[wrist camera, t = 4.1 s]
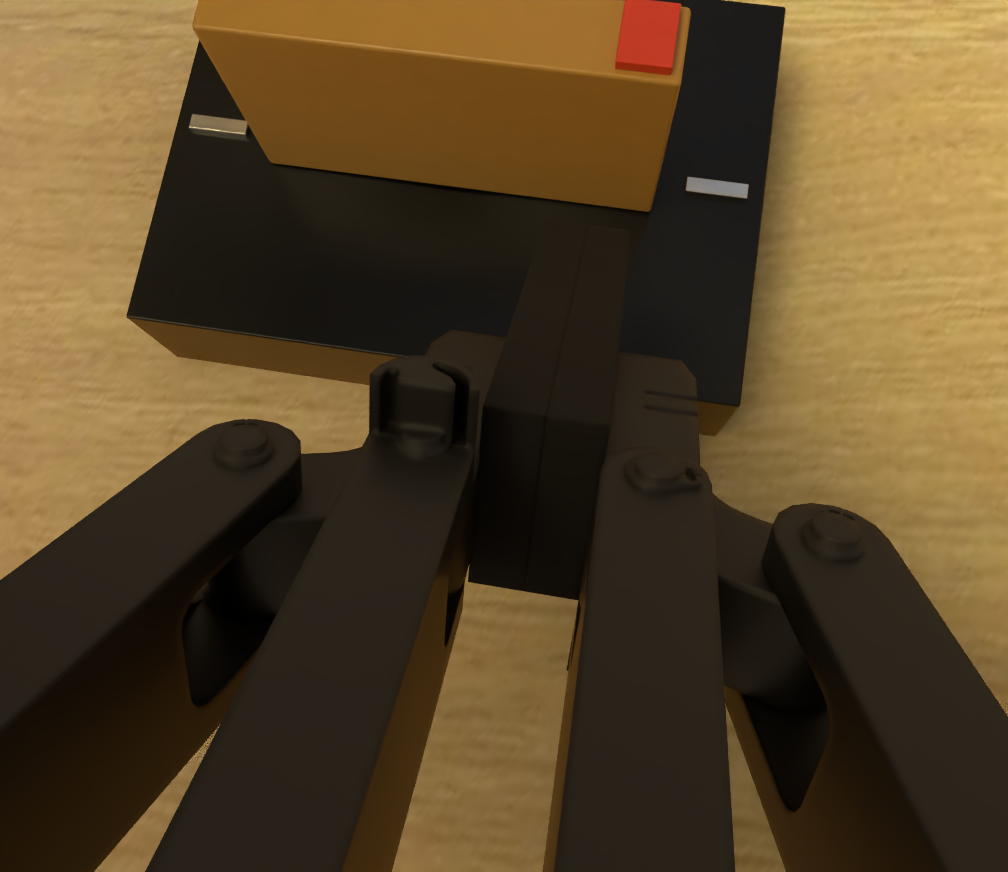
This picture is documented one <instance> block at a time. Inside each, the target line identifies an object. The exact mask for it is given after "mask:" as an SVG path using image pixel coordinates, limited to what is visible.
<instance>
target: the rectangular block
mask: <svg viewBox="0 0 1008 872" xmlns="http://www.w3.org/2000/svg"><path fill="white" fill-rule="evenodd" d="M690 16H691V11H690V9H689V8H687V7H681V4H680V3H671V2H662V1H653V0H199V2H198V5H197V9H196V13H195V17H194V20H193V25H192V26H193V30H194V31H195V33H196V35H197V36H198V38H199V40H200V42H201V43H202V45H203V47H204V49H205V50H206V52H207V54H208V56H209V57H210V59H211V61H212V62H213V64H214V66H215V68H216V69H217V71H218V73H219V75H220V76H221V78H222V80H223V82H224V83H225V85H226V87H227V88H228V90H229V92H230V94H231V95H232V97H233V99H234V101H235V102H236V104H237V106H238V108H239V109H240V111H241V113H242V114H243V116H244V118H245V120H246V121H247V123H248V125H249V127H250V128H251V130H252V132H253V134H254V135H255V137H256V139H257V140H258V142H259V144H260V146H261V147H262V149H263V151H264V153H265V154H266V156H267V158H268V160H269V161H270V162H271V163H276V164H284V165H291V166H299V167H307V168H314V169H322V170H330V171H337V172H345V173H353V174H361V175H368V176H376V177H384V178H391V179H399V180H407V181H414V182H422V183H430V184H438V185H445V186H453V187H461V188H468V189H476V190H484V191H491V192H499V193H507V194H515V195H522V196H530V197H538V198H545V199H553V200H561V201H568V202H576V203H584V204H592V205H599V206H607V207H615V208H622V209H630V210H638V211H645V212H649V211H650V210H651V209H652V204H653V200H654V196H655V192H656V188H657V183H658V179H659V175H660V171H661V166H662V162H663V158H664V154H665V149H666V145H667V141H668V137H669V133H670V128H671V124H672V120H673V116H674V111H675V107H676V103H677V99H678V94H679V90H680V86H681V81H682V73H683V66H684V59H685V52H686V45H687V37H688V30H689V23H690Z"/></svg>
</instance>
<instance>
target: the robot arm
mask: <svg viewBox="0 0 1008 872" xmlns="http://www.w3.org/2000/svg"><path fill="white" fill-rule="evenodd" d="M630 234H631V230H624V229H617V228H609V227H602V226H594V225H587V224H579V223H572V222H564V221H557V220H549V219H546V220H545V223H544V226H543V229H542V232H541V235H540V238H539V241H538V244H537V247H536V250H535V253H534V256H533V259H532V262H531V265H530V268H529V271H528V274H527V277H526V280H525V283H524V286H523V288H522V291H521V294H520V297H519V300H518V303H517V306H516V309H515V312H514V315H513V318H512V321H511V324H510V327H509V330H508V333H507V336H506V337H500V336H493V335H486V334H479V333H472V332H465V331H458V330H450V331H449V332H447V333H446V334H444V335H442V336H441V337H439V338H438V339H436V340H435V341H433V342H431V344H430V346H429V348H428V350H427V352H426V354H425V356H417V355H415V356H408V357H401V358H395V359H392V360H390V361H387V362H385V363H382V364H380V365H379V366H378V367H377V368H376V369H374V370H373V371H372V372H371V373H370V406H369V435H368V436H367V438H366V440H365V442H364V444H363V446H362V447H360V448H356V449H353V450H349V451H342V452H332V453H311V454H301V446H300V440H299V439H298V438H297V436H296V435H295V434H294V433H293V431H292V430H290V429H288V428H286V427H284V426H281V425H279V424H277V423H274V422H268V421H263V420H257V419H248V420H245V419H241V420H233V421H229V422H225V423H221V424H217V425H213V426H211V427H209V428H208V429H206V430H204V431H202V432H200V433H198V434H196V435H195V436H194V437H192V438H191V439H190V440H188V441H187V442H186V443H184V444H183V445H182V446H180V447H179V448H178V449H176V450H175V451H174V452H172V453H171V454H170V455H168V456H167V457H166V458H164V459H163V460H161V461H160V462H159V463H157V464H156V465H155V466H153V467H152V468H151V469H149V470H148V471H147V472H145V473H144V474H143V475H141V476H140V477H139V478H137V479H136V480H135V481H133V482H132V483H131V484H129V485H128V486H127V487H125V488H124V489H122V490H121V491H120V492H118V493H117V494H116V495H114V496H113V497H112V498H110V499H109V500H108V501H106V502H105V503H104V504H102V505H101V506H100V507H98V508H97V509H96V510H94V511H93V512H92V513H90V514H89V515H88V516H86V517H85V518H84V519H82V520H81V521H79V522H78V523H77V524H75V525H74V526H73V527H71V528H70V529H69V530H67V531H66V532H65V533H63V534H62V535H61V536H59V537H58V538H57V539H55V540H54V541H53V542H51V543H50V544H49V545H47V546H46V547H45V548H43V549H42V550H40V551H39V552H38V553H36V554H35V555H34V556H32V557H31V558H30V559H28V560H27V561H26V562H24V563H23V564H22V565H20V566H19V567H18V568H16V569H15V570H14V571H12V572H11V573H10V574H8V575H7V576H6V577H4V578H3V579H1V580H0V872H94V871H95V870H96V869H97V867H98V866H99V865H100V864H101V863H102V862H103V860H104V859H105V858H106V857H107V856H108V855H109V853H110V852H111V851H112V850H113V849H114V848H115V846H116V845H117V844H118V843H119V842H120V841H121V839H122V838H123V837H124V836H125V835H126V834H127V832H128V831H129V830H130V829H131V828H132V827H133V825H134V824H135V823H136V822H137V821H138V820H139V818H140V817H141V816H142V815H143V814H144V813H145V811H146V810H147V809H148V808H149V807H150V806H151V804H152V803H153V802H154V801H155V800H156V799H157V797H158V796H159V795H160V794H161V793H162V792H163V790H164V789H165V788H166V787H167V786H168V785H169V783H170V782H171V781H172V780H173V779H174V778H175V776H176V775H177V774H178V773H179V772H180V771H181V769H182V768H183V767H184V766H185V765H186V764H187V762H188V761H189V760H190V759H191V758H192V757H193V755H194V754H195V753H196V752H197V751H198V750H199V748H200V747H201V746H202V745H203V744H204V743H205V741H206V740H207V739H208V738H209V737H210V736H211V734H212V733H213V732H214V731H215V730H216V729H217V727H218V726H219V725H220V726H219V728H218V730H217V732H216V734H215V736H214V738H213V740H212V742H211V744H210V746H209V748H208V750H207V752H206V754H205V756H204V758H203V760H202V762H201V763H200V765H199V767H198V769H197V771H196V773H195V775H194V777H193V779H192V781H191V783H190V785H189V787H188V789H187V791H186V793H185V795H184V797H183V799H182V801H181V803H180V805H179V807H178V809H177V810H176V812H175V814H174V816H173V818H172V820H171V822H170V824H169V826H168V828H167V830H166V832H165V834H164V836H163V838H162V840H161V842H160V844H159V846H158V848H157V850H156V852H155V854H154V856H153V857H152V859H151V861H150V863H149V865H148V867H147V869H146V871H145V872H392V869H393V865H394V861H395V857H396V854H397V850H398V846H399V843H400V839H401V835H402V831H403V828H404V824H405V820H406V817H407V813H408V809H409V805H410V802H411V798H412V794H413V791H414V787H415V783H416V780H417V776H418V772H419V768H420V765H421V761H422V757H423V754H424V750H425V746H426V742H427V739H428V735H429V731H430V728H431V724H432V720H433V716H434V713H435V709H436V705H437V702H438V698H439V694H440V691H441V687H442V683H443V679H444V676H445V672H446V668H447V665H448V661H449V657H450V653H451V650H452V646H453V642H454V639H455V635H456V631H457V627H458V624H459V620H460V616H461V613H462V608H463V596H464V583H465V577H466V574H467V570H468V567H469V577H468V582H472V583H478V584H484V585H490V586H496V587H502V588H508V589H514V590H520V591H526V592H532V593H538V594H544V595H550V596H556V597H562V598H568V599H574V600H579V601H578V607H577V613H576V619H575V624H574V630H573V636H572V642H571V648H570V653H569V659H568V665H567V670H568V678H567V686H566V694H565V701H564V709H563V717H562V725H561V733H560V740H559V748H558V756H557V764H556V772H555V779H554V787H553V795H552V803H551V811H550V818H549V826H548V834H547V842H546V850H545V857H544V865H543V872H735V859H734V842H733V826H732V809H731V793H730V776H729V760H728V743H727V726H726V710H725V703H726V706H727V709H728V712H729V714H730V717H731V720H732V723H733V725H734V728H735V731H736V734H737V736H738V739H739V742H740V745H741V748H742V750H743V753H744V756H745V759H746V761H747V764H748V767H749V770H750V772H751V775H752V778H753V781H754V784H755V786H756V789H757V792H758V795H759V797H760V800H761V803H762V806H763V808H764V811H765V814H766V817H767V820H768V822H769V825H770V828H771V831H772V833H773V836H774V839H775V842H776V844H777V847H778V850H779V853H780V856H781V858H782V861H783V864H784V867H785V869H786V872H1008V716H1007V715H1006V713H1005V712H1004V710H1003V709H1002V707H1001V706H1000V704H999V703H998V701H997V700H996V698H995V697H994V695H993V694H992V692H991V691H990V689H989V688H988V686H987V685H986V683H985V682H984V680H983V679H982V677H981V676H980V674H979V673H978V671H977V670H976V668H975V667H974V665H973V664H972V662H971V661H970V659H969V658H968V657H967V655H966V654H965V652H964V651H963V649H962V648H961V646H960V645H959V643H958V642H957V640H956V639H955V637H954V636H953V634H952V633H951V631H950V630H949V628H948V627H947V625H946V624H945V622H944V621H943V619H942V618H941V616H940V615H939V613H938V612H937V610H936V609H935V607H934V606H933V604H932V603H931V601H930V600H929V598H928V597H927V595H926V594H925V593H924V591H923V590H922V588H921V587H920V585H919V584H918V582H917V581H916V579H915V578H914V576H913V575H912V573H911V572H910V570H909V569H908V567H907V566H906V564H905V563H904V561H903V560H902V558H901V557H900V555H899V554H898V552H897V551H896V549H895V548H894V546H893V545H892V543H891V542H890V540H889V539H888V538H887V537H886V536H885V535H884V534H883V533H882V532H881V531H880V530H879V529H878V528H877V527H876V526H875V525H874V524H872V523H870V522H869V521H867V520H865V519H864V518H862V517H860V516H859V515H857V514H855V513H853V512H850V511H848V510H844V509H842V508H839V507H835V506H830V505H822V504H815V503H808V504H800V505H792V506H790V507H788V508H787V509H785V510H783V511H781V512H779V513H778V515H777V517H776V519H775V521H774V523H773V524H771V523H768V522H765V521H762V520H760V519H757V518H754V517H751V516H749V515H747V514H744V513H742V512H740V511H738V510H735V509H733V508H732V507H730V506H728V505H727V504H725V503H724V502H722V501H721V500H719V499H718V498H717V497H716V496H715V495H714V494H713V493H712V484H711V482H710V479H709V476H708V474H707V472H706V471H705V470H704V469H703V468H702V467H701V466H700V449H699V429H698V416H697V414H698V408H697V401H696V400H697V388H696V378H695V377H694V376H693V374H692V373H691V372H690V370H689V369H688V368H687V367H686V365H685V364H684V363H683V362H682V360H676V359H669V358H662V357H655V356H648V355H641V354H634V353H627V352H620V351H618V349H619V340H620V330H621V321H622V311H623V301H624V292H625V282H626V272H627V263H628V253H629V244H630ZM469 563H470V565H469Z"/></svg>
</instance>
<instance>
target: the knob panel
mask: <svg viewBox="0 0 1008 872" xmlns="http://www.w3.org/2000/svg"><path fill="white" fill-rule="evenodd" d="M653 1H662V2H671V3H680V4H681V7H687V8H689V9H690V11H691V16H690V23H689V30H688V37H687V45H686V52H685V59H684V66H683V73H682V81H681V86H680V90H679V94H678V99H677V103H676V107H675V111H674V116H673V120H672V124H671V128H670V133H669V137H668V141H667V145H666V149H665V154H664V158H663V162H662V166H661V171H660V175H659V179H658V183H657V188H656V192H655V196H654V200H653V204H652V209H651V210H650V211H649V212H645V211H638V210H630V209H622V208H615V207H607V206H599V205H592V204H584V203H576V202H568V201H561V200H553V199H545V198H538V197H530V196H522V195H515V194H507V193H499V192H491V191H484V190H476V189H468V188H461V187H453V186H445V185H438V184H430V183H422V182H414V181H407V180H399V179H391V178H384V177H376V176H368V175H361V174H353V173H345V172H337V171H330V170H322V169H314V168H307V167H299V166H291V165H284V164H276V163H271V162H270V161H269V160H268V158H267V156H266V154H265V153H264V151H263V149H262V147H261V146H260V144H259V142H258V140H257V139H256V137H255V135H254V134H253V132H252V130H251V128H250V127H249V125H248V123H247V121H246V120H245V118H244V116H243V114H242V113H241V111H240V109H239V108H238V106H237V104H236V102H235V101H234V99H233V97H232V95H231V94H230V92H229V90H228V88H227V87H226V85H225V83H224V82H223V80H222V78H221V76H220V75H219V73H218V71H217V69H216V68H215V66H214V64H213V62H212V61H211V59H210V57H209V56H208V54H207V52H206V50H205V49H204V47H203V45H202V43H201V42H200V40H199V43H198V47H197V51H196V55H195V58H194V62H193V66H192V70H191V74H190V77H189V81H188V85H187V89H186V93H185V96H184V100H183V104H182V108H181V112H180V115H179V119H178V123H177V127H176V130H175V134H174V138H173V142H172V146H171V149H170V153H169V157H168V161H167V165H166V168H165V172H164V176H163V180H162V183H161V187H160V191H159V195H158V199H157V202H156V206H155V210H154V214H153V218H152V221H151V225H150V229H149V233H148V237H147V240H146V244H145V248H144V252H143V255H142V259H141V263H140V267H139V271H138V274H137V278H136V282H135V286H134V290H133V293H132V297H131V301H130V305H129V308H128V312H127V318H128V319H130V320H131V321H132V322H134V323H135V324H136V325H137V326H139V327H140V328H141V329H143V330H144V331H145V332H146V333H148V334H149V335H150V336H152V337H153V338H154V339H155V340H157V341H158V342H159V343H161V344H162V345H163V346H164V347H166V348H167V349H168V350H170V351H171V352H172V353H173V354H175V355H176V356H178V357H185V358H191V359H198V360H205V361H212V362H218V363H225V364H232V365H239V366H245V367H252V368H259V369H266V370H272V371H279V372H286V373H293V374H299V375H306V376H313V377H319V378H326V379H333V380H340V381H346V382H353V383H360V384H367V385H370V373H371V372H372V371H373V370H374V369H376V368H377V367H378V366H379V365H380V364H382V363H385V362H387V361H390V360H392V359H395V358H401V357H408V356H415V355H417V356H425V354H426V352H427V350H428V348H429V346H430V344H431V342H433V341H435V340H436V339H438V338H439V337H441V336H442V335H444V334H446V333H447V332H449V331H450V330H458V331H465V332H472V333H479V334H486V335H493V336H500V337H506V336H507V333H508V330H509V327H510V324H511V321H512V318H513V315H514V312H515V309H516V306H517V303H518V300H519V297H520V294H521V291H522V288H523V286H524V283H525V280H526V277H527V274H528V271H529V268H530V265H531V262H532V259H533V256H534V253H535V250H536V247H537V244H538V241H539V238H540V235H541V232H542V229H543V226H544V223H545V220H546V219H549V220H557V221H564V222H572V223H579V224H587V225H594V226H602V227H609V228H617V229H624V230H631V234H630V244H629V253H628V263H627V272H626V282H625V292H624V301H623V311H622V321H621V330H620V340H619V349H618V351H620V352H627V353H634V354H641V355H648V356H655V357H662V358H669V359H676V360H682V362H683V363H684V364H685V365H686V367H687V368H688V369H689V370H690V372H691V373H692V374H693V376H694V377H695V378H696V388H697V400H696V401H697V408H698V414H697V416H698V429H699V434H703V435H710V436H716V435H717V434H718V432H719V431H720V430H721V429H722V427H723V426H724V425H725V424H726V422H727V421H728V420H729V419H730V417H731V416H732V415H733V414H734V412H735V411H736V410H737V409H738V407H739V406H740V402H741V393H742V384H743V375H744V367H745V358H746V349H747V341H748V332H749V323H750V314H751V306H752V297H753V288H754V280H755V271H756V262H757V254H758V245H759V236H760V227H761V219H762V210H763V201H764V193H765V184H766V175H767V166H768V158H769V149H770V140H771V132H772V123H773V114H774V105H775V97H776V88H777V79H778V71H779V62H780V53H781V44H782V36H783V27H784V18H785V7H778V6H769V5H760V4H751V3H742V2H733V1H724V0H653Z"/></svg>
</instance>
